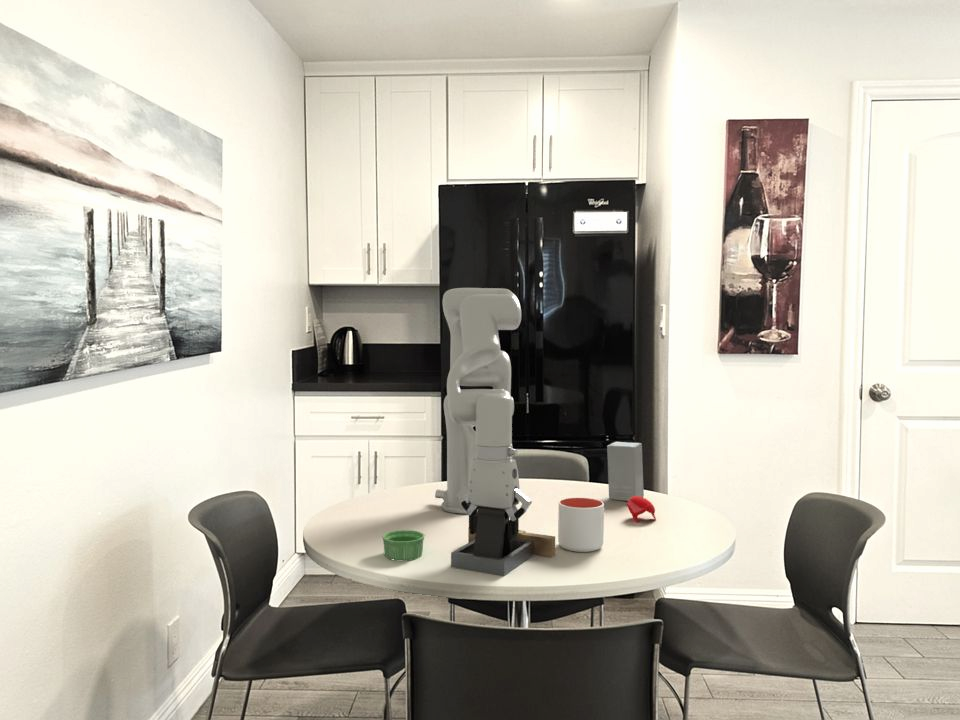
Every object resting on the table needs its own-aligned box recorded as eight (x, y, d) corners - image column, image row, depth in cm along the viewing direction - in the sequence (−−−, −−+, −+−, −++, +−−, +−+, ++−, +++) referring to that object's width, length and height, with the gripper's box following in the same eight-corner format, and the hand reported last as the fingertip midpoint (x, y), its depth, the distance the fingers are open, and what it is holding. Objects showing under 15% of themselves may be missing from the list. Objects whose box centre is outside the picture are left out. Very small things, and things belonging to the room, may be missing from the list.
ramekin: (389, 564, 164) (389, 543, 164) (377, 552, 172) (377, 532, 172) (430, 559, 168) (430, 538, 167) (416, 547, 176) (416, 528, 176)
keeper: (451, 567, 162) (451, 552, 162) (483, 547, 175) (483, 534, 175) (504, 575, 157) (504, 561, 156) (533, 555, 170) (533, 541, 170)
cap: (627, 511, 195) (648, 499, 195) (621, 497, 201) (642, 486, 200) (641, 533, 198) (662, 521, 198) (635, 519, 204) (655, 508, 203)
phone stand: (489, 553, 171) (489, 498, 171) (514, 557, 169) (515, 501, 168) (471, 565, 163) (471, 507, 163) (497, 569, 161) (497, 511, 160)
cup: (592, 556, 169) (592, 510, 169) (550, 548, 175) (550, 504, 174) (610, 545, 178) (611, 501, 177) (570, 538, 183) (570, 495, 182)
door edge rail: (468, 544, 177) (468, 525, 177) (472, 542, 179) (472, 523, 179) (551, 557, 169) (551, 537, 168) (555, 554, 170) (555, 534, 170)
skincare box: (644, 498, 222) (644, 442, 222) (634, 503, 216) (635, 446, 216) (615, 494, 227) (616, 440, 226) (605, 499, 221) (606, 443, 220)
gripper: (539, 453, 164) (538, 536, 165) (464, 446, 172) (464, 526, 173) (525, 459, 157) (524, 545, 158) (448, 452, 165) (448, 534, 166)
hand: (493, 535), depth 166 cm, fingers open, 8 cm apart
